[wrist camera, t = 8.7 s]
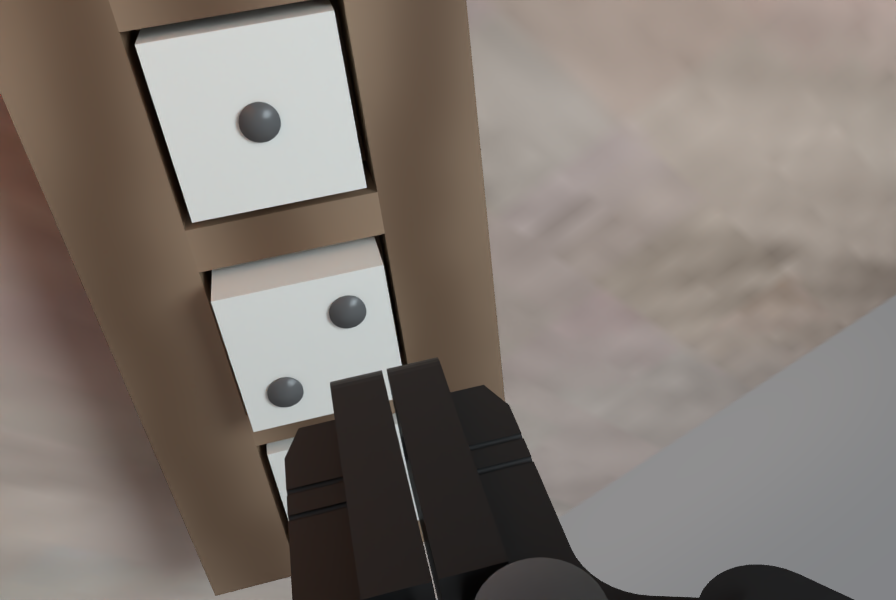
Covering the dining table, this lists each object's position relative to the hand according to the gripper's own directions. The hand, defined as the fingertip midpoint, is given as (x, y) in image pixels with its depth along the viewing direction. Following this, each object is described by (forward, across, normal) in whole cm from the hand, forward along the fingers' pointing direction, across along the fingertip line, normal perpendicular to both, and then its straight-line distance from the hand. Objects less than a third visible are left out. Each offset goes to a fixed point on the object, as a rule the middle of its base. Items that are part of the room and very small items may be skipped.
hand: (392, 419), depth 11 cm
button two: (+14, +2, +7) cm, 16 cm away
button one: (+16, +2, 0) cm, 16 cm away
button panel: (+17, +2, +7) cm, 18 cm away
